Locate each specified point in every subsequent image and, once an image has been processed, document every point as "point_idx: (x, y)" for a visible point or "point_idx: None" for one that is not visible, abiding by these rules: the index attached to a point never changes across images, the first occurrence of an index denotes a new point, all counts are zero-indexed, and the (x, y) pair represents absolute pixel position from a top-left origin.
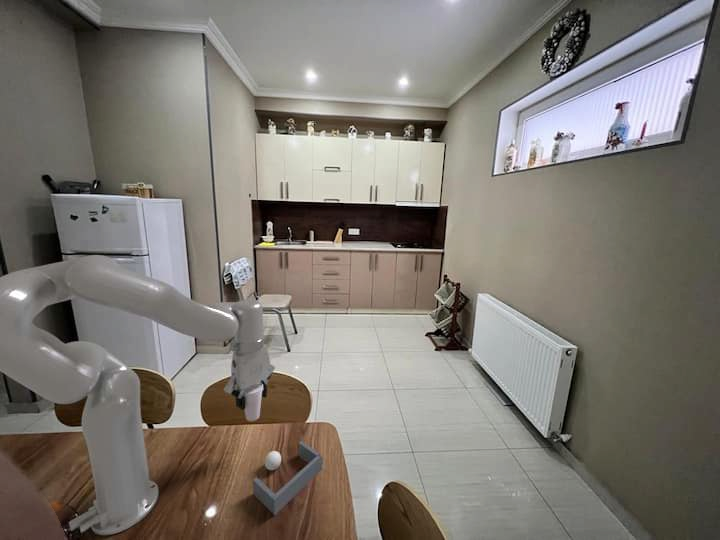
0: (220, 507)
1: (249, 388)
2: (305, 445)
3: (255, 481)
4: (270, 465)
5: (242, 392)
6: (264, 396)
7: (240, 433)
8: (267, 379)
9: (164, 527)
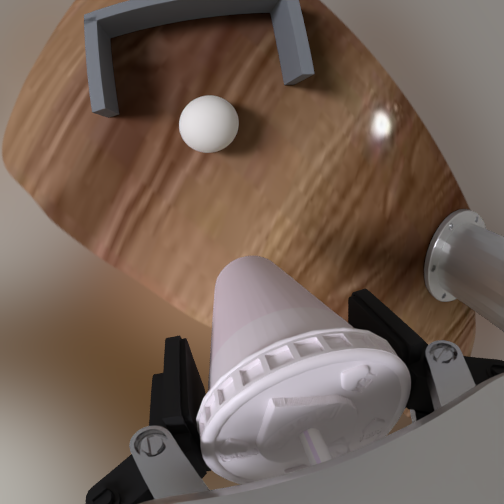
0: (365, 117)
1: (349, 424)
2: (94, 81)
3: (311, 63)
4: (230, 104)
5: (448, 376)
6: (184, 343)
7: None
8: (140, 470)
9: (439, 165)
